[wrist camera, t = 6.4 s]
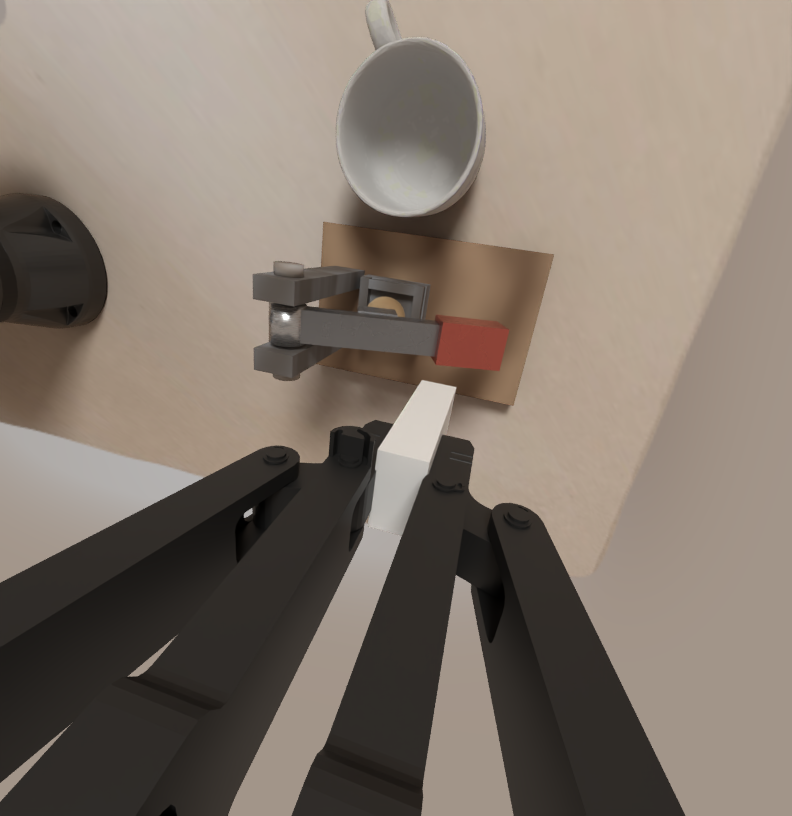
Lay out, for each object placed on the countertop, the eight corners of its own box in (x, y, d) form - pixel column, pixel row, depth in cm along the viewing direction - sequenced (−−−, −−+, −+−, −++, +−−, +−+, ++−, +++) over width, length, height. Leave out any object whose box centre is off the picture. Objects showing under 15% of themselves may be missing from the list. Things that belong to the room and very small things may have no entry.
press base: (323, 359, 45) (237, 411, 31) (331, 223, 39) (230, 208, 25) (513, 398, 41) (515, 479, 27) (551, 254, 36) (581, 258, 21)
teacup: (490, 213, 36) (485, 204, 28) (374, 230, 39) (344, 225, 31) (484, 15, 31) (477, -56, 24) (353, 51, 34) (312, -2, 27)
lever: (276, 332, 32) (264, 348, 28) (276, 292, 31) (264, 302, 27) (481, 353, 35) (499, 371, 30) (489, 316, 33) (509, 329, 29)
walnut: (369, 330, 38) (357, 337, 35) (373, 291, 37) (360, 295, 33) (406, 337, 37) (396, 345, 34) (411, 298, 36) (402, 302, 33)
